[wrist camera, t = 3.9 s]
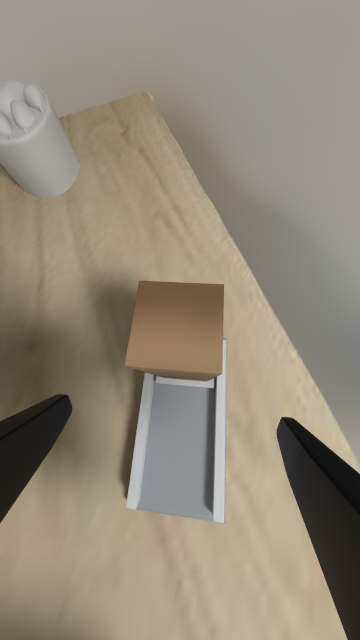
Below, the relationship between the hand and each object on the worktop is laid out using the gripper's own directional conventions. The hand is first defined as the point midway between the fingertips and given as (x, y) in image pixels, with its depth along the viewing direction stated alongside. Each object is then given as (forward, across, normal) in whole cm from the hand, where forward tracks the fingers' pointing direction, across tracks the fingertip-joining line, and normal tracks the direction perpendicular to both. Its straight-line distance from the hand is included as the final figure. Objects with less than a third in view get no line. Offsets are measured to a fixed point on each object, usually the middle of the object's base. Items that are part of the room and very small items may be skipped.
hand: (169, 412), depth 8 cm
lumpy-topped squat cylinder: (+32, -25, +14) cm, 43 cm away
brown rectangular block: (+11, 0, -6) cm, 12 cm away
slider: (+7, 0, -9) cm, 12 cm away
